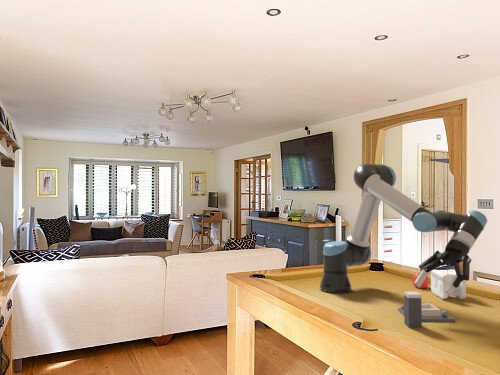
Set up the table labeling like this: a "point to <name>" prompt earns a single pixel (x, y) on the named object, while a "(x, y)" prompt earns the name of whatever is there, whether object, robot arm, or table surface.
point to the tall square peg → (412, 310)
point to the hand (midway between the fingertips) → (431, 289)
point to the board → (432, 314)
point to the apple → (424, 284)
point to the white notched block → (446, 284)
